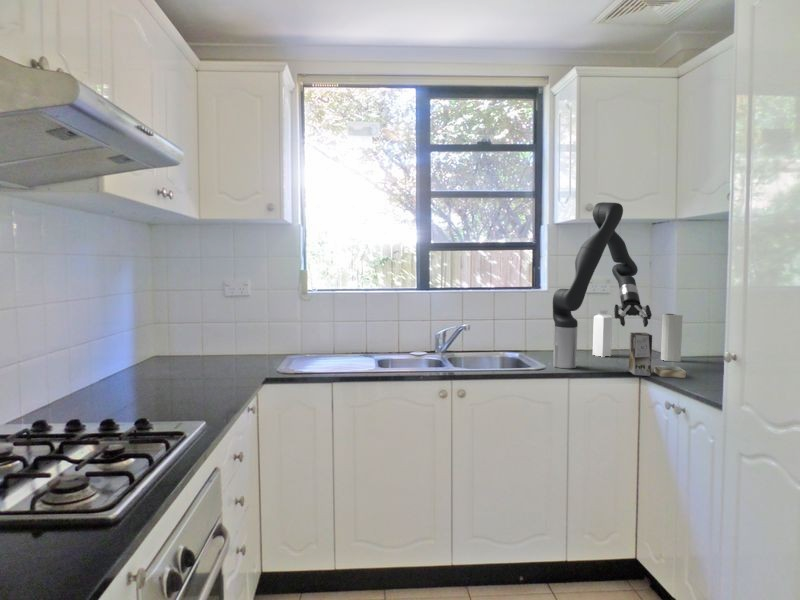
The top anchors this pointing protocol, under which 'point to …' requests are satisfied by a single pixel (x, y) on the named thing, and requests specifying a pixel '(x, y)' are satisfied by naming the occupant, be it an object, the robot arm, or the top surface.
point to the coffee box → (640, 354)
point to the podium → (669, 371)
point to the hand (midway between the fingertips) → (634, 325)
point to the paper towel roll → (671, 337)
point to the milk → (602, 334)
